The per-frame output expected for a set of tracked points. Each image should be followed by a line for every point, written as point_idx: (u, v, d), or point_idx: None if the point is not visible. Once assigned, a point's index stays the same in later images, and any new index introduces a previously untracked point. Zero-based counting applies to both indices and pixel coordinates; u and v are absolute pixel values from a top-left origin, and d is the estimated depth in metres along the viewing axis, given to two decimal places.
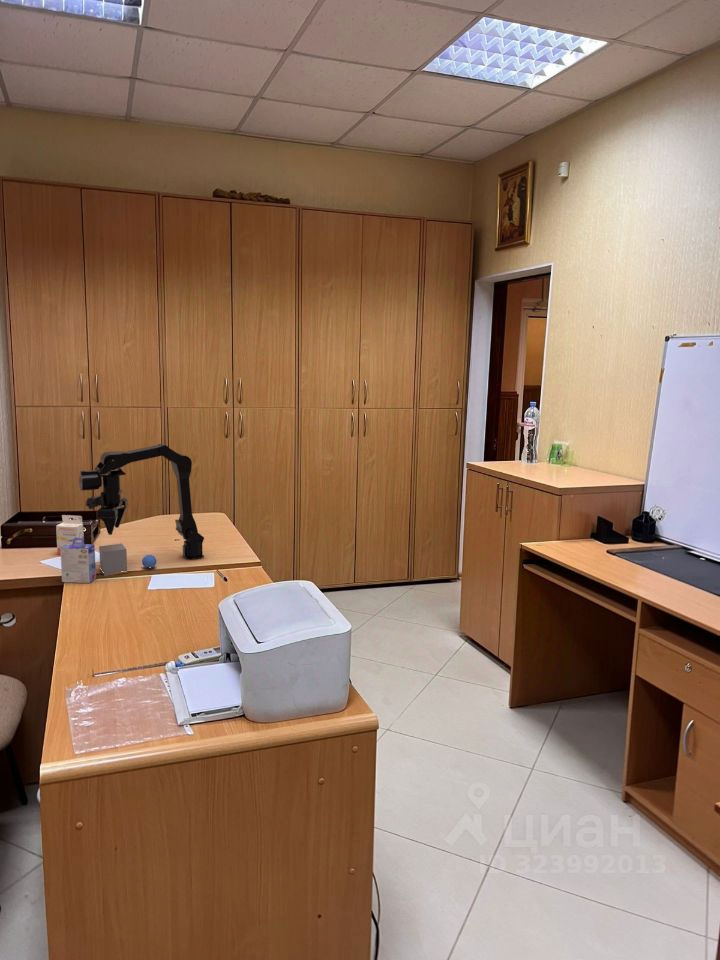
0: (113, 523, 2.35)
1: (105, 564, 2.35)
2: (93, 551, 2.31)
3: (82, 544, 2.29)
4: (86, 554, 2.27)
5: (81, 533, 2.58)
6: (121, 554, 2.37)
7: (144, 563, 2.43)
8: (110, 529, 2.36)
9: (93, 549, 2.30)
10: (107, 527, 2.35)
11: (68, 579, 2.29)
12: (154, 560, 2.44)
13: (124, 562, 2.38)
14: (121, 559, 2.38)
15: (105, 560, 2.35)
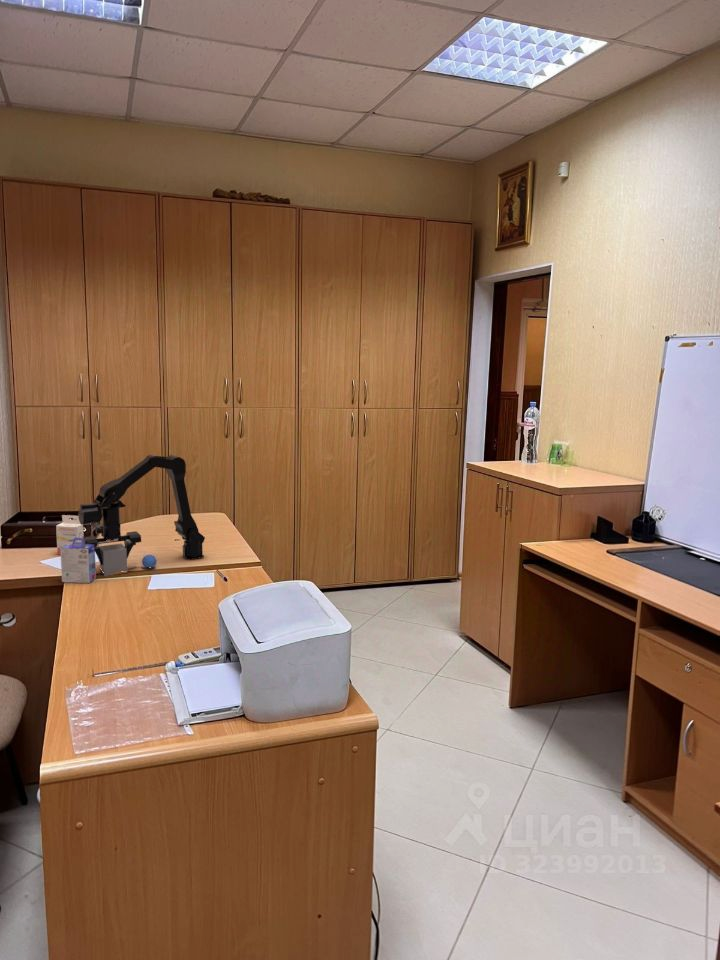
0: (97, 554, 2.35)
1: (105, 564, 2.35)
2: (93, 551, 2.31)
3: (82, 544, 2.29)
4: (86, 554, 2.27)
5: (81, 533, 2.58)
6: (121, 554, 2.37)
7: (144, 563, 2.43)
8: (99, 559, 2.37)
9: (93, 549, 2.30)
10: None
11: (68, 579, 2.29)
12: (154, 560, 2.44)
13: (124, 562, 2.38)
14: (121, 559, 2.38)
15: (105, 560, 2.35)
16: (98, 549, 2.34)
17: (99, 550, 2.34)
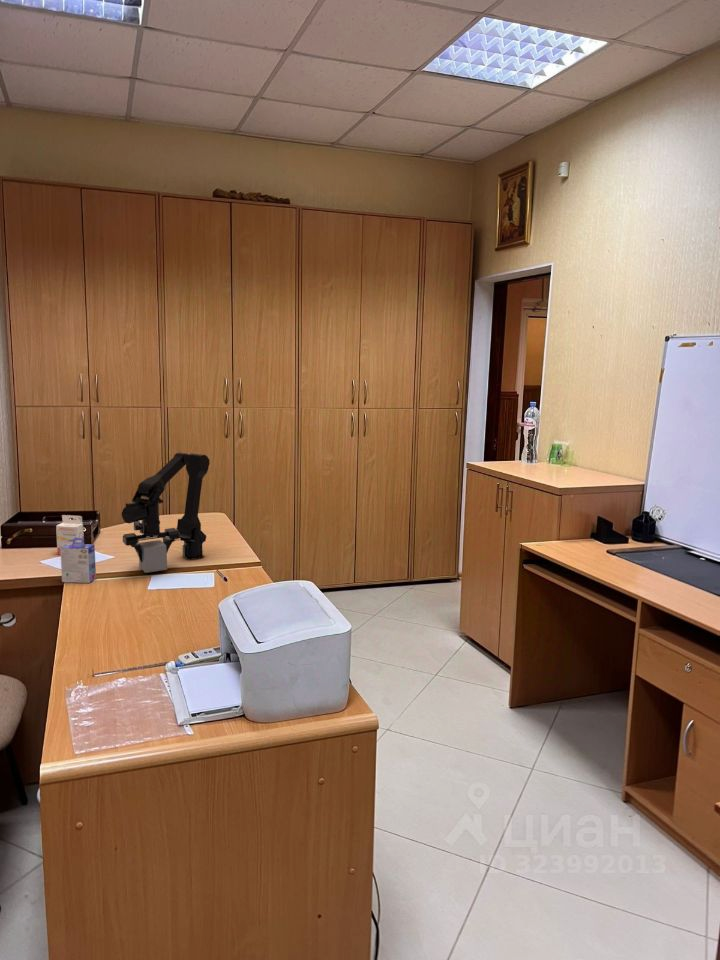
0: (137, 551, 2.36)
1: (146, 561, 2.35)
2: (93, 551, 2.31)
3: (82, 544, 2.29)
4: (86, 554, 2.27)
5: (81, 533, 2.58)
6: (161, 550, 2.38)
7: None
8: (138, 556, 2.38)
9: (93, 549, 2.30)
10: (137, 553, 2.38)
11: (68, 579, 2.29)
12: None
13: (164, 558, 2.39)
14: (161, 555, 2.38)
15: (146, 557, 2.35)
16: (138, 546, 2.35)
17: (139, 547, 2.35)
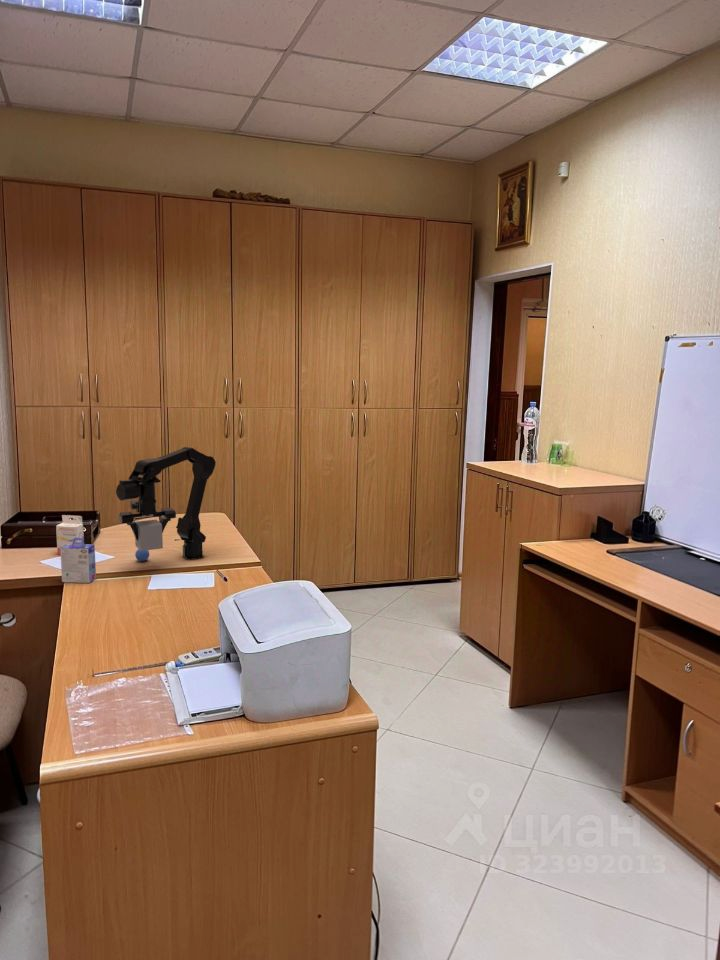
0: (133, 529, 2.38)
1: (141, 539, 2.37)
2: (93, 551, 2.31)
3: (82, 544, 2.29)
4: (86, 554, 2.27)
5: (81, 533, 2.58)
6: (157, 529, 2.39)
7: None
8: (134, 535, 2.39)
9: (93, 549, 2.30)
10: (133, 532, 2.40)
11: (68, 579, 2.29)
12: None
13: (160, 537, 2.40)
14: (156, 534, 2.40)
15: (141, 535, 2.37)
16: (134, 524, 2.36)
17: (135, 525, 2.37)
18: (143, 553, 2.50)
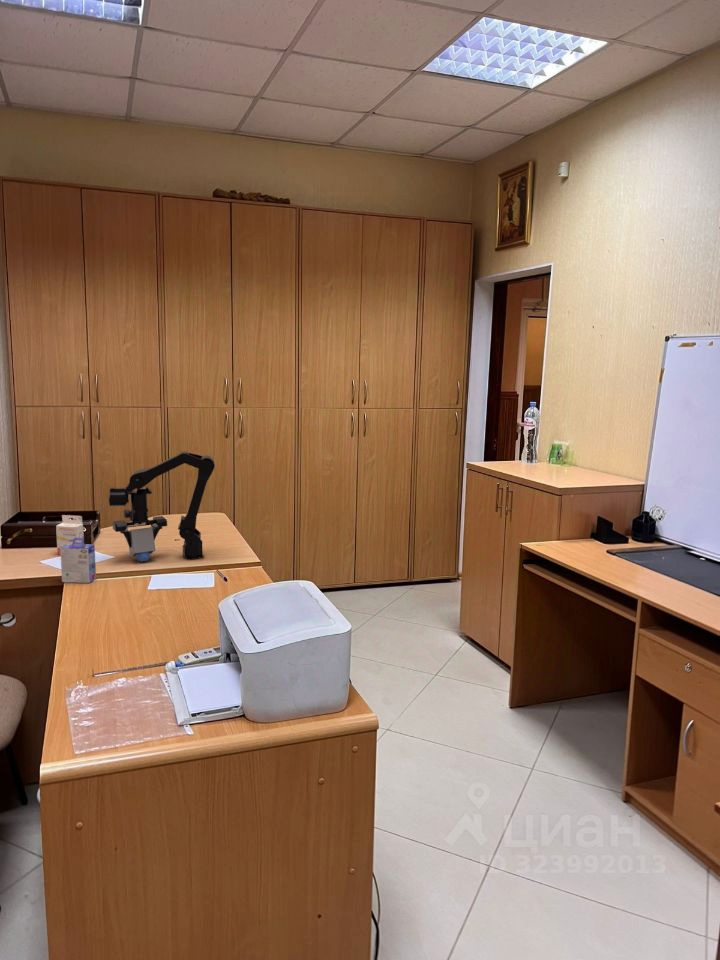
0: (126, 537, 2.49)
1: (134, 541, 2.49)
2: (93, 551, 2.31)
3: (82, 544, 2.29)
4: (86, 554, 2.27)
5: (81, 533, 2.58)
6: (148, 532, 2.52)
7: None
8: (127, 542, 2.51)
9: (93, 549, 2.30)
10: None
11: (68, 579, 2.29)
12: None
13: (152, 540, 2.52)
14: (148, 537, 2.51)
15: (133, 537, 2.49)
16: (127, 532, 2.48)
17: (128, 533, 2.48)
18: (143, 555, 2.50)
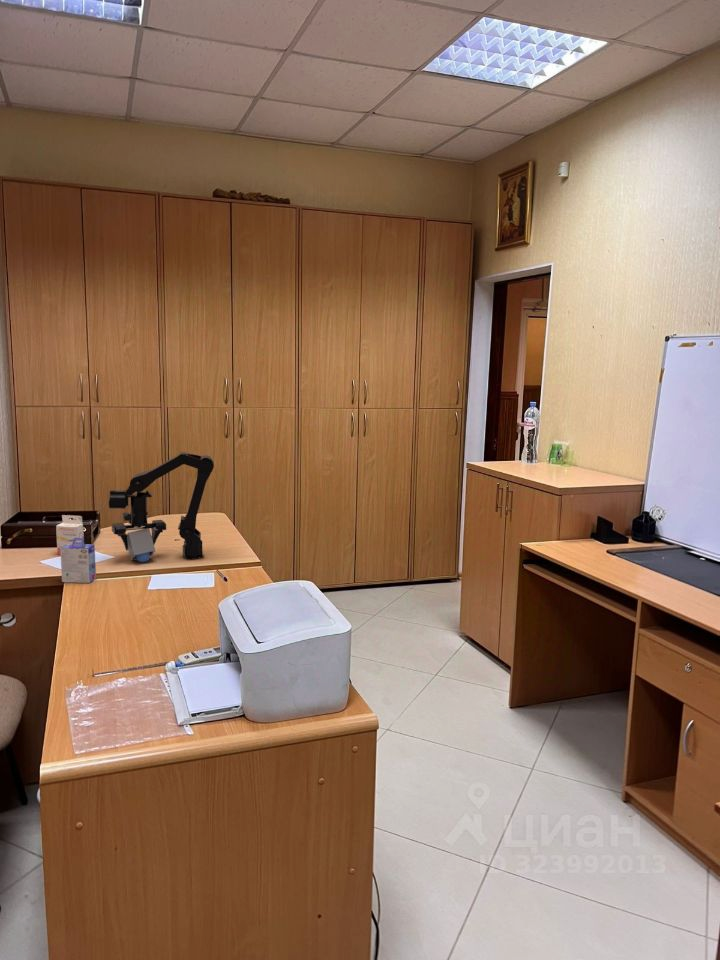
0: (123, 540, 2.49)
1: (132, 544, 2.48)
2: (93, 551, 2.31)
3: (82, 544, 2.29)
4: (86, 554, 2.27)
5: (81, 533, 2.58)
6: (145, 533, 2.51)
7: None
8: (124, 545, 2.51)
9: (93, 549, 2.30)
10: None
11: (68, 579, 2.29)
12: None
13: (150, 540, 2.51)
14: (146, 538, 2.51)
15: (131, 540, 2.48)
16: (124, 535, 2.48)
17: (125, 536, 2.48)
18: (144, 557, 2.49)
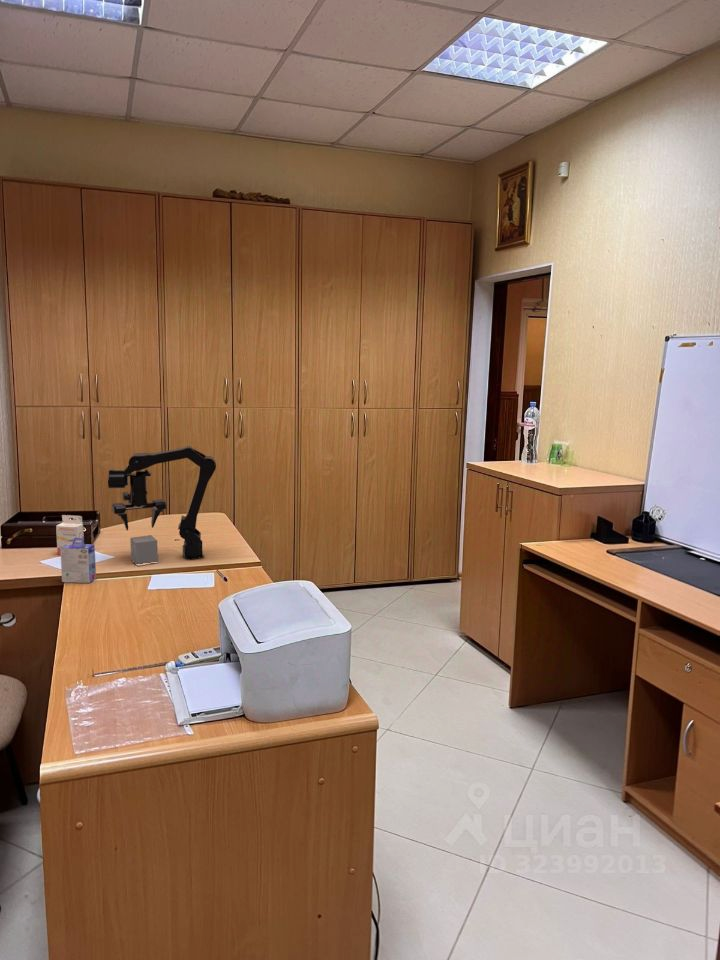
0: (123, 520, 2.48)
1: (137, 554, 2.46)
2: (93, 551, 2.31)
3: (82, 544, 2.29)
4: (86, 554, 2.27)
5: (81, 533, 2.58)
6: (152, 545, 2.49)
7: None
8: (125, 525, 2.50)
9: (93, 549, 2.30)
10: (123, 522, 2.50)
11: (68, 579, 2.29)
12: None
13: (155, 553, 2.50)
14: (152, 550, 2.49)
15: (137, 551, 2.46)
16: (124, 515, 2.46)
17: (125, 516, 2.47)
18: None
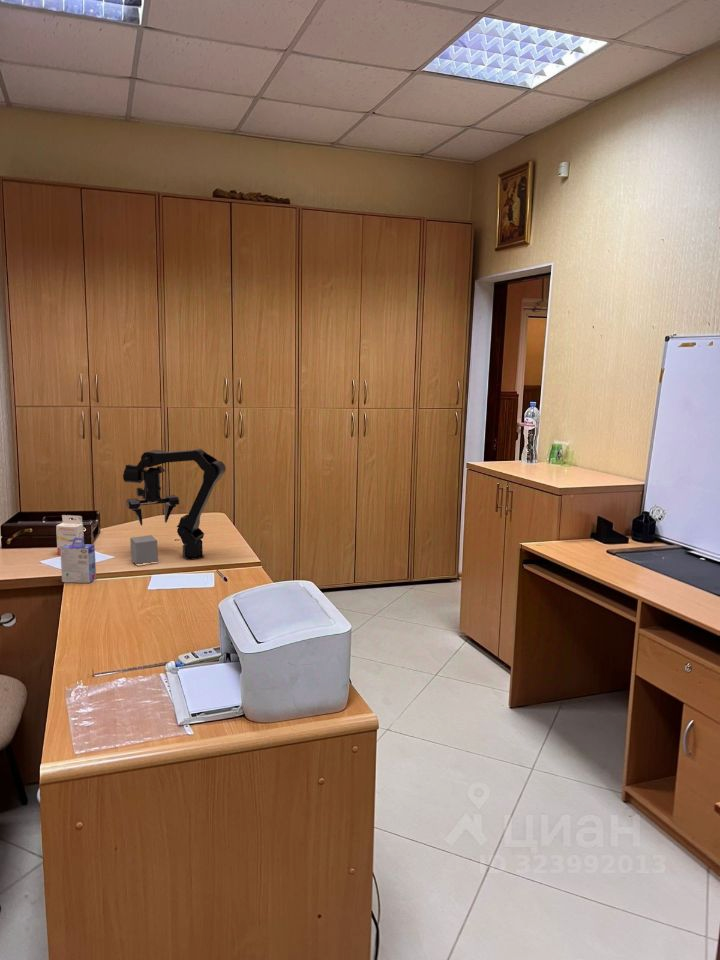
0: (137, 515, 2.54)
1: (137, 554, 2.46)
2: (93, 551, 2.31)
3: (82, 544, 2.29)
4: (86, 554, 2.27)
5: (81, 533, 2.58)
6: (152, 545, 2.49)
7: None
8: (139, 520, 2.56)
9: (93, 549, 2.30)
10: None
11: (68, 579, 2.29)
12: None
13: (155, 553, 2.50)
14: (152, 550, 2.49)
15: (137, 551, 2.46)
16: (139, 510, 2.53)
17: (140, 511, 2.53)
18: None
